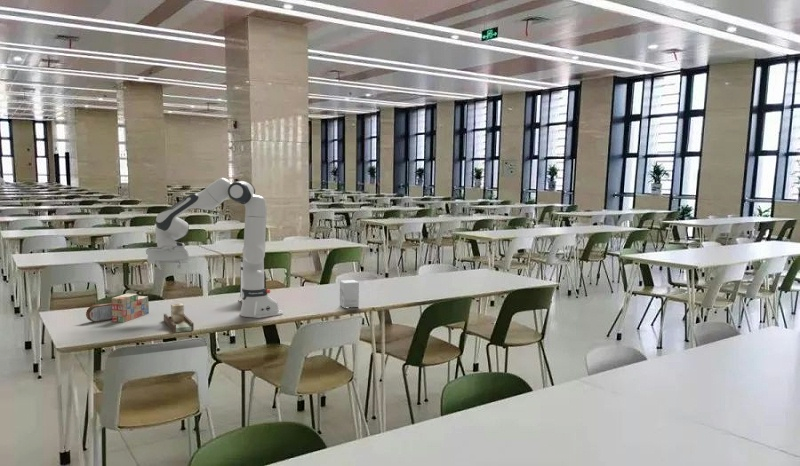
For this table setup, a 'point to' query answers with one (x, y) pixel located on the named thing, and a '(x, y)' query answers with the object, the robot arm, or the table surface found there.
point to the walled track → (179, 324)
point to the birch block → (177, 312)
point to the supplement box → (349, 293)
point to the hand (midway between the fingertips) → (170, 268)
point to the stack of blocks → (129, 307)
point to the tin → (99, 312)
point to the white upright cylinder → (242, 278)
